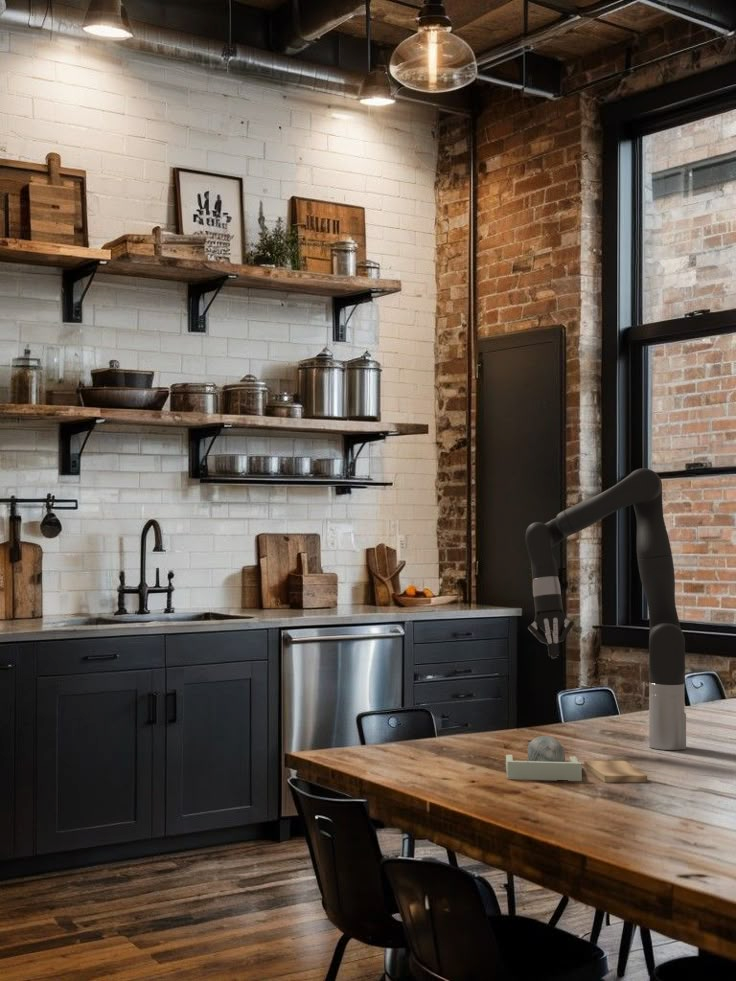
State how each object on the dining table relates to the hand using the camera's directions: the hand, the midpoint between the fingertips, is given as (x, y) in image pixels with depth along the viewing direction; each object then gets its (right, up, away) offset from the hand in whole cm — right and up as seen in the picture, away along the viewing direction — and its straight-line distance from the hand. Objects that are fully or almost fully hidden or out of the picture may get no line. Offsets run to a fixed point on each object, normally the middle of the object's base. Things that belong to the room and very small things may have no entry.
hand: (554, 657), depth 329 cm
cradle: (-9, -22, -40) cm, 47 cm away
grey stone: (-8, -22, -39) cm, 46 cm away
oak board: (+8, -22, -42) cm, 48 cm away
